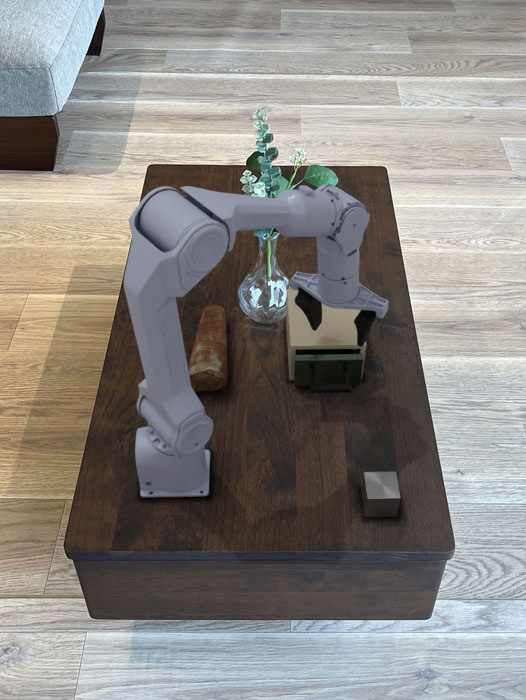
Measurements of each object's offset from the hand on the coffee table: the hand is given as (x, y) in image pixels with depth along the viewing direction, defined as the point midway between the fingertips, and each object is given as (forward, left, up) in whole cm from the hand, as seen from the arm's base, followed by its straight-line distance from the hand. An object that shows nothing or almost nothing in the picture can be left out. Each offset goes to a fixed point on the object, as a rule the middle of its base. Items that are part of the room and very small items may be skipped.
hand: (339, 333), depth 120 cm
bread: (-21, +6, -10) cm, 24 cm away
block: (+4, -24, -10) cm, 26 cm away
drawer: (-2, +2, -9) cm, 9 cm away
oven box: (-2, +7, -10) cm, 12 cm away
